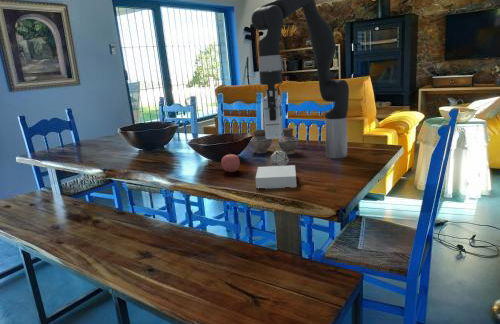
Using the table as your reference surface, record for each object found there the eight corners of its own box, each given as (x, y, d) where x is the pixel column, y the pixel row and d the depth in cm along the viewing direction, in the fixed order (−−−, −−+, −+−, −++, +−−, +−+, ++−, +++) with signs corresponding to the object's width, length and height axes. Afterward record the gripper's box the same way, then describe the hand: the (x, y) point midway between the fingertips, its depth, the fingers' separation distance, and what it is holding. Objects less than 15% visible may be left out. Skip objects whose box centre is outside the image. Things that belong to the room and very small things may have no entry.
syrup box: (281, 138, 127) (279, 96, 124) (264, 139, 129) (262, 97, 125) (283, 135, 133) (281, 94, 129) (267, 135, 134) (264, 95, 130)
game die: (276, 176, 153) (266, 156, 156) (294, 168, 153) (284, 147, 156) (274, 172, 145) (263, 150, 147) (293, 162, 144) (282, 141, 147)
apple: (233, 175, 147) (232, 155, 145) (219, 173, 151) (217, 154, 149) (243, 170, 153) (242, 151, 151) (229, 168, 157) (227, 150, 155)
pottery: (295, 156, 169) (294, 130, 166) (246, 154, 180) (244, 130, 177) (302, 150, 179) (301, 126, 176) (255, 149, 190) (253, 126, 187)
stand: (258, 176, 142) (258, 166, 141) (295, 175, 141) (294, 165, 140) (256, 188, 129) (255, 177, 128) (296, 187, 128) (295, 176, 127)
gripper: (260, 70, 132) (263, 116, 136) (257, 71, 118) (261, 122, 123) (281, 68, 131) (283, 115, 136) (281, 69, 117) (284, 121, 122)
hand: (273, 118), depth 129 cm, fingers closed on syrup box, 6 cm apart
